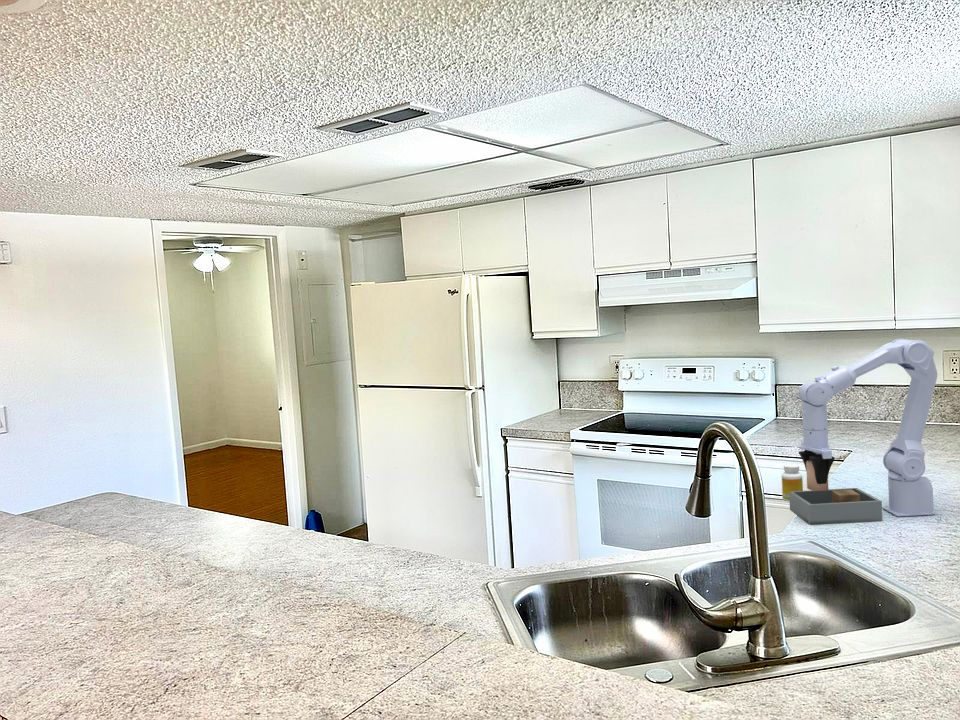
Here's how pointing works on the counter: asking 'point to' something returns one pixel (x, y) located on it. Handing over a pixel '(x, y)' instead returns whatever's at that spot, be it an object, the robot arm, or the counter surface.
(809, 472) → the terracotta cylinder
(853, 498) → the walnut cube
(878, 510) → the tote
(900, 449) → the robot arm
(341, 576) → the counter surface
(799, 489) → the supplement bottle
